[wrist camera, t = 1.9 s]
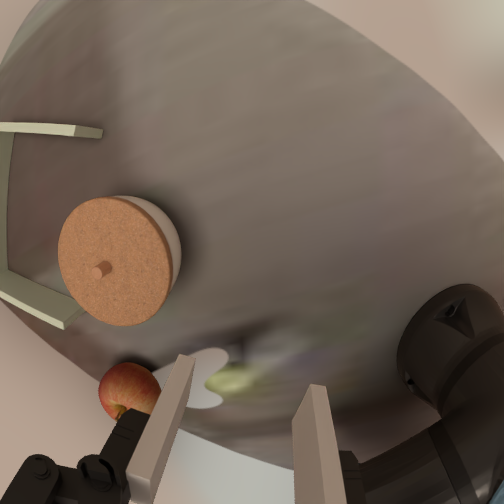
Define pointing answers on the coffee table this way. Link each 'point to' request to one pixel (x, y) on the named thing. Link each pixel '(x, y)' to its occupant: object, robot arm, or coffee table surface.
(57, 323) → the bin
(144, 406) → the apple
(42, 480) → the robot arm
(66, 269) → the lidded jar
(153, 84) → the coffee table surface
